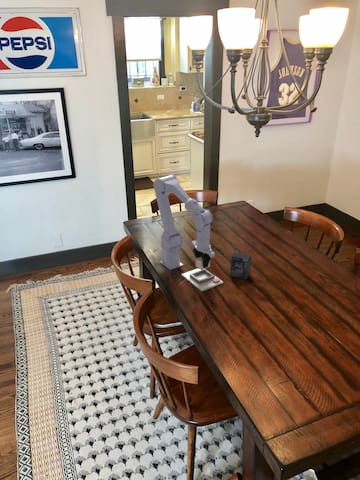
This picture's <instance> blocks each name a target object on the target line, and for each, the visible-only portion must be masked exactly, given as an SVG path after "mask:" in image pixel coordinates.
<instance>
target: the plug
mask: <svg viewBox="0 0 360 480" xmlns="http://www.w3.org/2000/svg"><path fill="white" fill-rule="evenodd" d="M195 267H196V269H200V270H201V271H203V269H207V268H210V267H211V260H210V261H209V264H208V267H206V268H203V261H202V257H199V258H196V257H195Z"/></svg>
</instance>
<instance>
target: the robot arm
mask: <svg viewBox="0 0 360 480" xmlns="http://www.w3.org/2000/svg"><path fill="white" fill-rule="evenodd" d="M152 186H153V189H154V193H155V198H156V202H157V206H158V210H159V214H160V220H161V223H162V227H163V232H162V234H161V235H160V246H161V251H160V252H161V260H160V263H161V265H163V266H165V268H166V269H168V270H169V271H171V270H174V269H177V268H180V267H183V266H184V263H182V262H181V259H180V258H181V257H180V256H181V255H180V254H181V248H182V245H183V244H184V238H183V236H182V234H181V231H180V230H179V229H177V228H176V226H175V222H174V217H173V213H172V209H171V205H170V200H169V195H170V194H174V195H175V196H176V198H178V199H179V200H180V201H181V202H182V203H183V205H184V209H185V210H186V211H187V212H188V213H189V214H190V216H192V218H193V223H194V224H195V228H196V240H192V241H191V247H194V248H192V253H193V255H194V257H195V259H196V258H199V257H202V261H203V268H205V269H207V268H206V267H208V264H209V261H210V262H211V259H212V258H215V255H216V253H215V252H214V251H213V250H212V245H211V244H210V241H211V240H210V238H211V236H210V235H211V223H212V222H213V220H214V215H213V213H212V211H211V210H209V209H206V208H204V207H202V205H200V203H199V202H198V200H196V199H195V198H191V197H190V196H189V195H188V194H187V192H186V191H185V190H184V188H183V187H182V186H181V185H180V180H179V179H178V178H177V176H176V175H175V174H169V175H166V176H163V177H158V178H156V179H155V180H154V182H153V184H152ZM208 268H209V267H208Z"/></svg>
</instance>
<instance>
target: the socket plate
mask: <svg viewBox="0 0 360 480" xmlns="http://www.w3.org/2000/svg"><path fill="white" fill-rule="evenodd" d="M181 276H182V277H183V278H184V279H185V280H186V281H188V282H189V283H190V284H192V286H194V287H196V288H197V289H198V290H199V291H200V292H205V291H207V290H209V289H210V290H211V289H212V288H215V287H217V286H219V285H222V284H224V281H223V280H221V279H220V278H219V277H218V276H216V275H215V274H213V273H211V272H210V271H208V270H207V268H205V269H203V271H201V270H200V269H198V268H195V269H193V270H189V271H187V272H183V273H181Z"/></svg>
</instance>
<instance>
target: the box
mask: <svg viewBox="0 0 360 480" xmlns="http://www.w3.org/2000/svg"><path fill="white" fill-rule="evenodd" d="M230 263H231V264H230V271H229V272H230V274H229V276H231V277H235V278H238V279H242V280H247V279H248V278H249V275H250V273H251V266H252V255H251V254H246V253H243V252H239V251H234V253H233V254H232V255H231V259H230Z"/></svg>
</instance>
